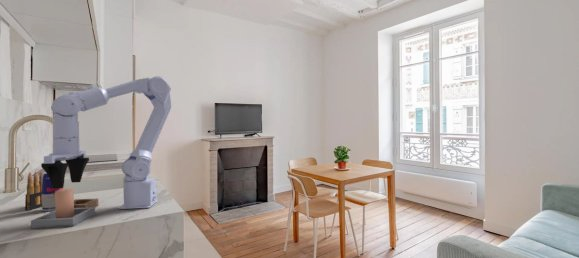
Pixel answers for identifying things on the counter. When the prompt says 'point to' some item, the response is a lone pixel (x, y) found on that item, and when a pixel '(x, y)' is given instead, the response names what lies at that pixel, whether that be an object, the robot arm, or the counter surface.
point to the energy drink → (48, 194)
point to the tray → (52, 221)
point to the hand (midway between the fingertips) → (67, 185)
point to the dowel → (64, 203)
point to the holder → (85, 203)
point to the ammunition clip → (34, 192)
